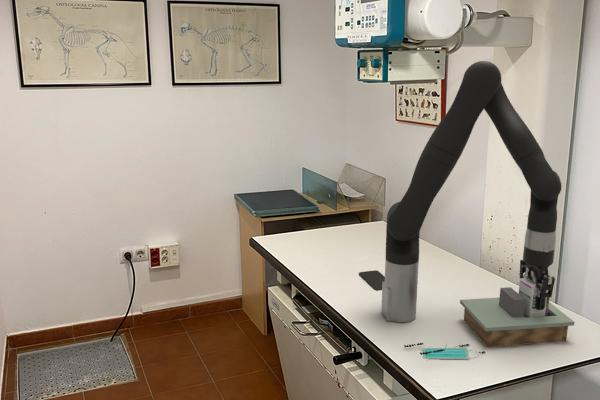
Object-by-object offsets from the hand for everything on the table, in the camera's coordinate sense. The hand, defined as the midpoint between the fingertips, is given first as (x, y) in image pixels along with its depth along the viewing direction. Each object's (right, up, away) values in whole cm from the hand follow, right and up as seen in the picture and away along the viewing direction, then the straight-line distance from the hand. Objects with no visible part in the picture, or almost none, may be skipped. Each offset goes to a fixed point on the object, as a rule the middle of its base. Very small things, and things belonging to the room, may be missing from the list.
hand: (533, 303), depth 161 cm
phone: (-38, +1, +35) cm, 52 cm away
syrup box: (0, -8, +2) cm, 8 cm away
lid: (-5, -3, 0) cm, 6 cm away
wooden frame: (-5, -8, +1) cm, 9 cm away
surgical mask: (-27, -11, -10) cm, 31 cm away
